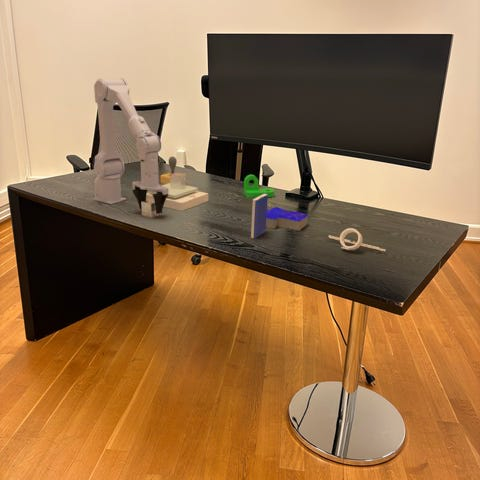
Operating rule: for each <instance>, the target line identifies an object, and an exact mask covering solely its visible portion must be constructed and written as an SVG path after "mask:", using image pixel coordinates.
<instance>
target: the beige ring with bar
mask: <svg viewBox="0 0 480 480" xmlns="http://www.w3.org/2000/svg"><path fill="white" fill-rule="evenodd" d="M350 233H355V234H357V236H358V237H357V239H358V240H357V242H356V241H354V240H353V241H351V240H350V239H347V238H346V236H347V235H348V234H350ZM328 238H329V239H333V240H336V241H339V243H340V244H341V247H340V248H341V249H344V250H347V251H355V250H357V249H359V248H360V247H365V248H368V249H373V250H377V251H378V250H379V251H380V252H384V253H385V252H386V249H385V248H380V247H379V246H374V245H371V244H367V243H363V235H362V234H361V232H359V231H358V230H357V229H355V228H351V227H349V228H345V229H344V230H343V231H342V232H341V233H340V235H339V236H333V235H328ZM345 238H346V239H345ZM346 243H348V244H350V243H351V244H352V245H351V246H348V245H346Z"/></svg>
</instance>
